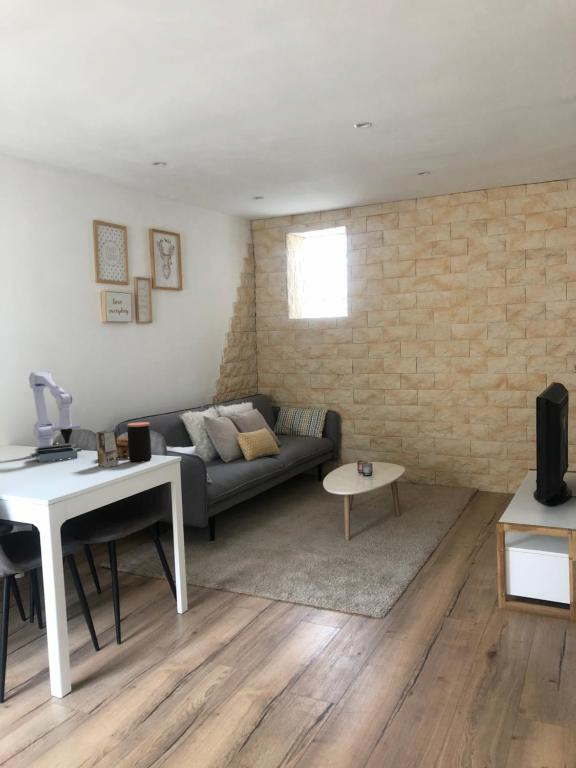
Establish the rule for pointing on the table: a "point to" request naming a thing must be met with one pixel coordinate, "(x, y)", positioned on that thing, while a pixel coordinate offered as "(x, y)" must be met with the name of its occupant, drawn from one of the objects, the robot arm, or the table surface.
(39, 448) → the cabinet door
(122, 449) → the bread
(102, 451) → the coffee box
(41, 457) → the grey slotted box
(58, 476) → the table surface
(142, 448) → the coffee jar
